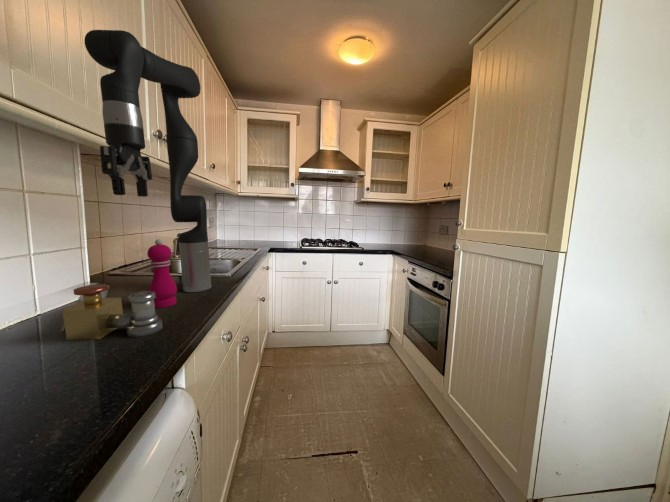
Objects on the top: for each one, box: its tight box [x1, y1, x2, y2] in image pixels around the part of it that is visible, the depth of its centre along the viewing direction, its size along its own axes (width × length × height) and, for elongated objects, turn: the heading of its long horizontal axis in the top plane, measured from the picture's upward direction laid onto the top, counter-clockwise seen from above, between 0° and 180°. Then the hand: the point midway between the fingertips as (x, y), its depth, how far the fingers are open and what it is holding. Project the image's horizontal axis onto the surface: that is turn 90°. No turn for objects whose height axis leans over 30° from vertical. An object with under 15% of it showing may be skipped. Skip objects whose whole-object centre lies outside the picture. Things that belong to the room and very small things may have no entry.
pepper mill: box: [147, 238, 178, 309], centre depth 82 cm, size 7×7×20 cm
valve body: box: [61, 283, 163, 341], centre depth 65 cm, size 8×18×11 cm, turn 94°
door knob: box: [128, 290, 159, 327], centre depth 65 cm, size 5×5×7 cm
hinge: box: [60, 282, 110, 332], centre depth 74 cm, size 17×5×10 cm, turn 30°
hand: (132, 195), depth 68 cm, fingers open, 8 cm apart
